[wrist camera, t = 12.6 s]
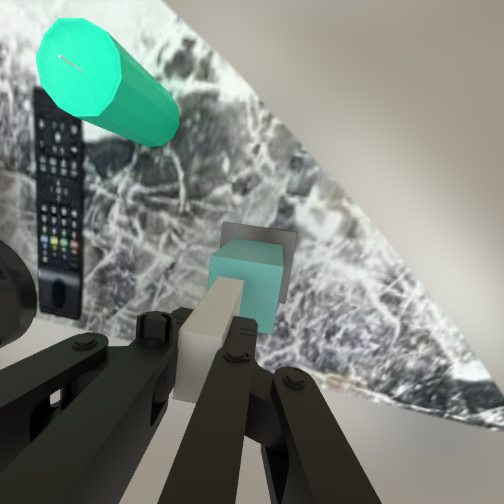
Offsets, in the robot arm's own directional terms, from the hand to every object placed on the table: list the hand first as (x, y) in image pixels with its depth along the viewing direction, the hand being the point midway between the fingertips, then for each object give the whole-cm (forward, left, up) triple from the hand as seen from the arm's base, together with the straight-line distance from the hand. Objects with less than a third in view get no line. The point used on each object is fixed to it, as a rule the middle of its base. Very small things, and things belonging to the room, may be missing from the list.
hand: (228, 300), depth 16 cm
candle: (-12, +13, -15) cm, 23 cm away
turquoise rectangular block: (0, -1, -13) cm, 13 cm away
